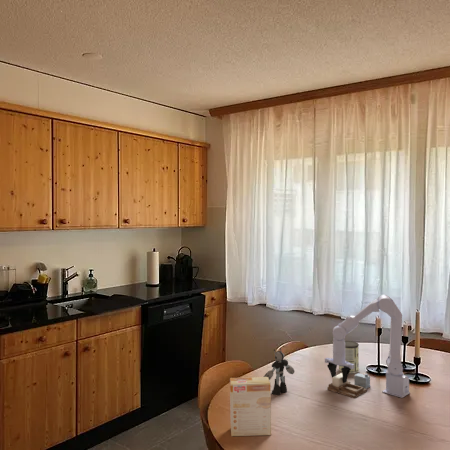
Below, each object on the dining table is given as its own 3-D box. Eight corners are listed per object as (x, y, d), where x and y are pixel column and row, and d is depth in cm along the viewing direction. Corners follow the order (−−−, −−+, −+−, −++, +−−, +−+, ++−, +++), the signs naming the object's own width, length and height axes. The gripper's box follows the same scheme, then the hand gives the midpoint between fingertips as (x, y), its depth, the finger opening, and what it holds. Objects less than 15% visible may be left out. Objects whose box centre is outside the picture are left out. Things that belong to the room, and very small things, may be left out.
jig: (367, 391, 206) (367, 386, 206) (354, 398, 198) (354, 393, 198) (340, 383, 216) (340, 378, 216) (327, 389, 209) (327, 384, 209)
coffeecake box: (269, 426, 172) (268, 376, 172) (271, 435, 165) (271, 383, 165) (230, 427, 172) (229, 377, 171) (231, 436, 164) (230, 384, 164)
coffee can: (337, 366, 241) (336, 340, 240) (356, 367, 240) (356, 340, 239) (340, 373, 230) (340, 346, 230) (360, 373, 229) (360, 346, 229)
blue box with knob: (370, 386, 212) (370, 373, 212) (365, 388, 209) (365, 375, 209) (358, 383, 216) (358, 370, 216) (354, 385, 214) (354, 372, 213)
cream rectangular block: (347, 384, 212) (347, 374, 212) (338, 388, 207) (338, 379, 207) (341, 382, 215) (341, 372, 214) (332, 387, 209) (332, 377, 209)
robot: (267, 399, 198) (267, 354, 198) (260, 396, 202) (259, 352, 201) (298, 388, 210) (297, 346, 210) (290, 385, 214) (290, 344, 214)
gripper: (357, 353, 208) (357, 382, 208) (330, 347, 218) (330, 374, 218) (349, 356, 203) (350, 386, 203) (322, 350, 213) (322, 378, 213)
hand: (339, 380), depth 210 cm, fingers open, 5 cm apart
